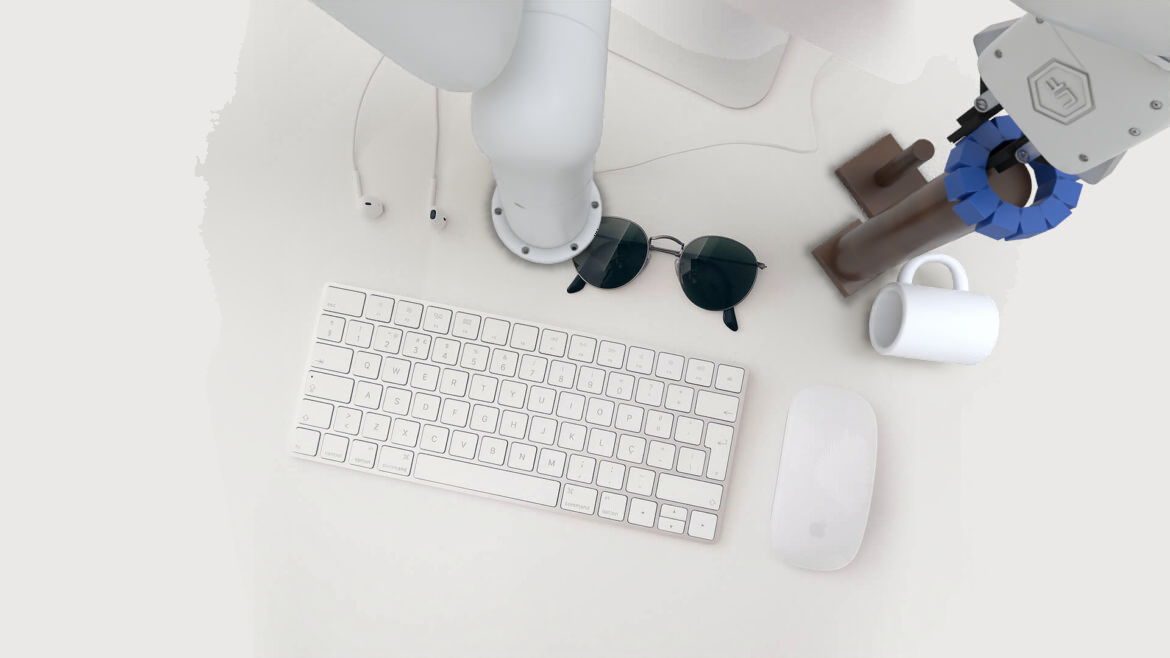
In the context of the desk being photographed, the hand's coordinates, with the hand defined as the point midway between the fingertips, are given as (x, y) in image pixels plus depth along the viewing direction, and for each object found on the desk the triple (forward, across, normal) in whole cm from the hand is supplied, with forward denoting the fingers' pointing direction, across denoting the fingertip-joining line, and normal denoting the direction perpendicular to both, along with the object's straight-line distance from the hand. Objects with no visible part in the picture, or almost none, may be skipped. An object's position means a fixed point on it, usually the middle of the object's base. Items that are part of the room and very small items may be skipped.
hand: (976, 146), depth 49 cm
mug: (+26, +12, +2) cm, 28 cm away
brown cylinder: (+25, +3, -1) cm, 25 cm away
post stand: (+25, -3, +8) cm, 27 cm away
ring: (0, +3, 0) cm, 3 cm away
